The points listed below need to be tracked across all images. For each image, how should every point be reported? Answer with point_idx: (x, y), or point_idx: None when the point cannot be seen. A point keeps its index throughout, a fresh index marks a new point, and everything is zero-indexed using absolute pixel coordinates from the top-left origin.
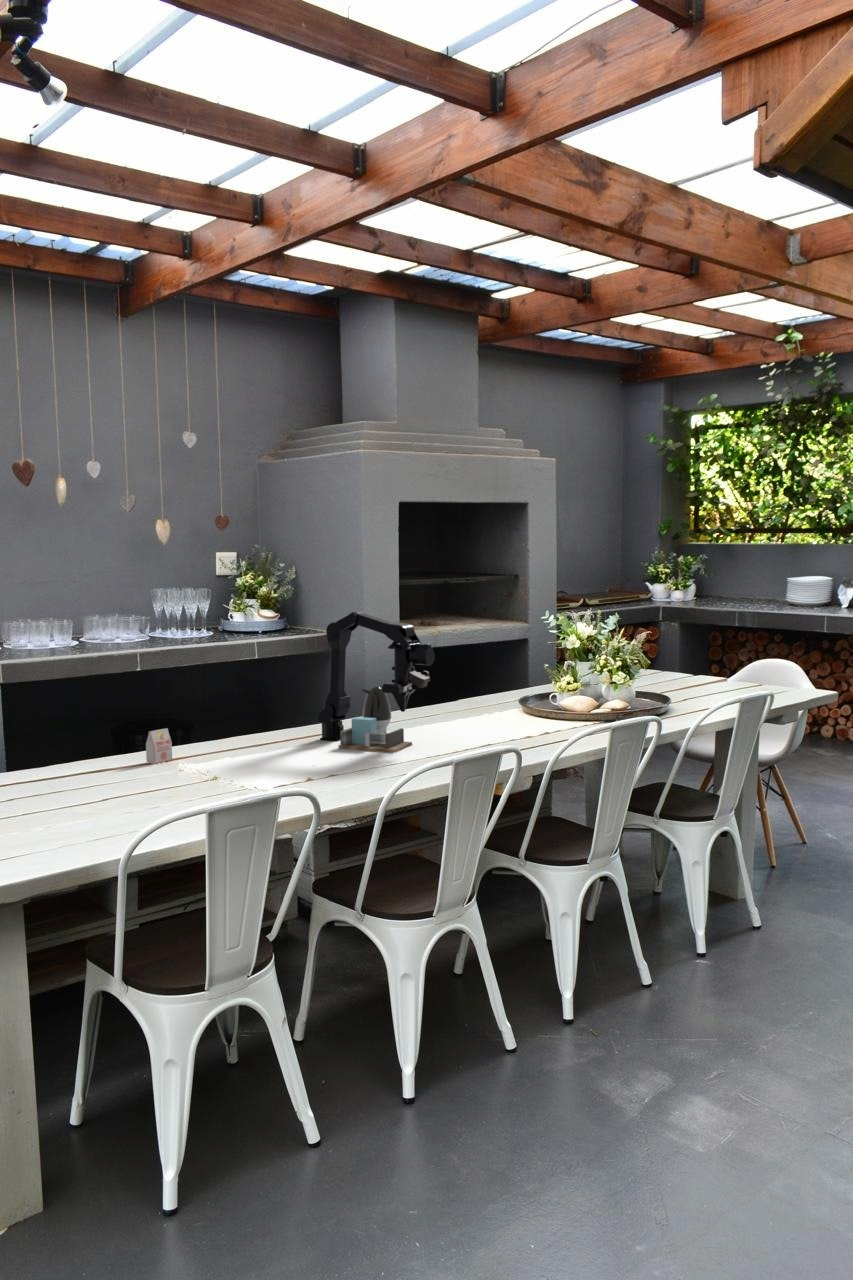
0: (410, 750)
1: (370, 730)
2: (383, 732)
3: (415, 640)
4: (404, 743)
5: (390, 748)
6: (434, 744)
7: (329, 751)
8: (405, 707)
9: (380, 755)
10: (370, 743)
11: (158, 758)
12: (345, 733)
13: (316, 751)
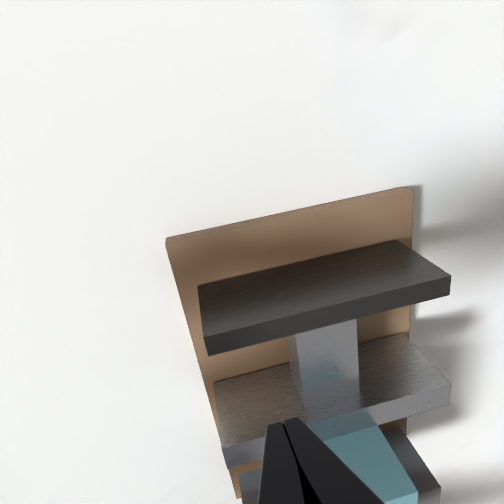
0: (304, 147)
1: (379, 429)
2: (257, 413)
3: None
4: (229, 256)
5: (388, 232)
6: (43, 120)
7: (454, 424)
8: (283, 461)
9: (476, 209)
10: (402, 346)
11: None
12: (435, 479)
13: (465, 452)
